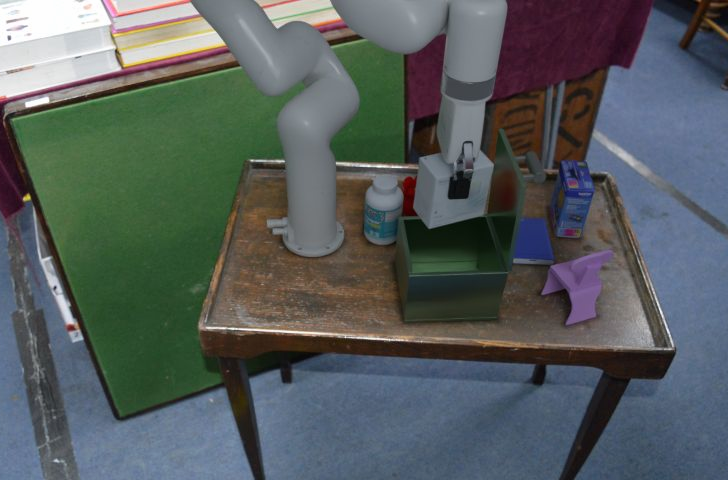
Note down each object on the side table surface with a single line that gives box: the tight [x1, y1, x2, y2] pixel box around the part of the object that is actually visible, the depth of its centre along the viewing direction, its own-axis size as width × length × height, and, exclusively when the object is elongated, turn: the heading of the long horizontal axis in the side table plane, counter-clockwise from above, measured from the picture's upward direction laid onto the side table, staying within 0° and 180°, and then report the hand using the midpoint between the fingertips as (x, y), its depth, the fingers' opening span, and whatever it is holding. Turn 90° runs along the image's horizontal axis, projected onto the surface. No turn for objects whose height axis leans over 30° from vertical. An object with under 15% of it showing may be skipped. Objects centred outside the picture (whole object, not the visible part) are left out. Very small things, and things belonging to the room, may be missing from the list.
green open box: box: [394, 213, 509, 324], centre depth 119 cm, size 17×16×12 cm
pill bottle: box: [363, 173, 403, 246], centre depth 130 cm, size 8×7×14 cm
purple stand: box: [540, 249, 615, 326], centre depth 115 cm, size 8×9×15 cm
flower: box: [400, 175, 419, 217], centre depth 137 cm, size 8×8×8 cm
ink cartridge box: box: [548, 158, 596, 239], centre depth 132 cm, size 10×6×14 cm, turn 174°
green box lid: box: [487, 128, 547, 272], centre depth 109 cm, size 17×16×5 cm
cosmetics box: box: [413, 149, 494, 229], centre depth 108 cm, size 10×6×10 cm, turn 111°
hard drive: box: [513, 217, 556, 266], centre depth 132 cm, size 2×8×12 cm
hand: (453, 181), depth 107 cm, fingers closed on cosmetics box, 7 cm apart
